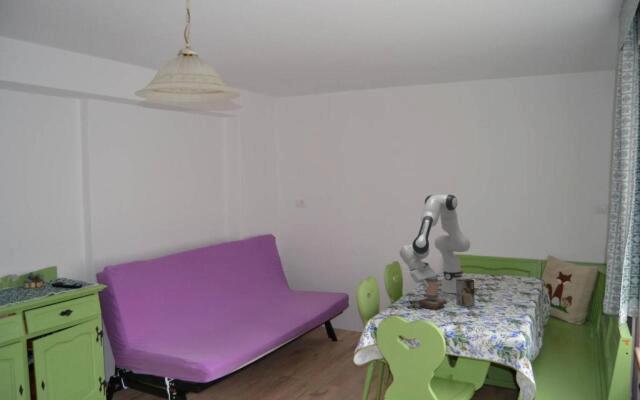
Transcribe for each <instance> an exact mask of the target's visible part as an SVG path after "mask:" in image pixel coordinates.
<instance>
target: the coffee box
mask: <svg viewBox="0 0 640 400" xmlns="http://www.w3.org/2000/svg"><path fill="white" fill-rule="evenodd" d="M455 294H456V295H455V296H456V305H457V306H459V307H461V308H465V307H474V306H476V305H475V303H476V302H475V301H476V300H475V299H476V298H475V280H474V279H472V278H468V277H467V278H464V279H456V293H455Z"/></svg>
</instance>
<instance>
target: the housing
mask: <svg viewBox="0 0 640 400" xmlns="http://www.w3.org/2000/svg"><path fill="white" fill-rule="evenodd" d="M426 282H427V283H429V284H430V286H429V287H427V286H426V285H425V287H426V293H425V294H426V295H425V296H426V298H431V299H439V279H438V277H435V278H434V277H429V278H426ZM426 298H425V299H426Z"/></svg>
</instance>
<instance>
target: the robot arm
mask: <svg viewBox="0 0 640 400" xmlns="http://www.w3.org/2000/svg"><path fill="white" fill-rule="evenodd" d="M457 206H458V199H457V197H456V196H455V195H453V194H443V193H441V194H431V195H428V196H426V198H425V199H424V207H423V209H422V214H421V218H420V219H421V224H420V228H419V231H418V234H417V236H416V237H415V238H414V240H413V241H412V244H405V245H403V246H402V247H401V249H400V250H399V256H400V258H401V259H402V261H403V263H404V264H406V265H407V267H408V269H409V274H410V277H411V279H412V280H413V281H414V283H416V284H419V283H422V284H423V285H424V286H425V287H426V286H427V287H429V286H430V284H429V283H427V282H426V278H429V277H434V278H437V273H436V272H435V270H434V269H433V268H432V267H431V266H430V263H428V262H424V261H422V260H424V259H426V258H427V257H428V256H429V255H430V242H429V237H430V234H431V233H430V232H431V229H432V227H435V226H436V225H437V224H438V222H439V219H440V223H441V228H442V230H443V231H444V232H445V233H447V234H448V235H447V234H445V235H444V234H442V235H438V236H436V238H435V239H434V246H435V249H437V250H438V251H439V252H440V255H441V256H442V259H443V278H441V279H442V280H441V287H440V288H439V289H440V290H441V292H442V293H447V294H456V279H465V277H463V275H464V271H463V270H461V259H460V258H459V257H458V256H456V255H455V253H465V252H468V251H469V250H470V248H471V241H470V239H469V238H468V237H466V236H465V235H464V233H463V232H462V231H461V229H460V227H459V221H458V215H457V210H456V209H457ZM454 252H455V253H454Z"/></svg>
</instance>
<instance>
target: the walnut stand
mask: <svg viewBox="0 0 640 400" xmlns="http://www.w3.org/2000/svg"><path fill="white" fill-rule="evenodd" d="M446 304H447V300H446V299H439V298H435V299H431V298H423V299H420V300H418V305H420V308H422V309H423V308H424V309H428V310H434V311H436V310H439V309H442V308H444V306H445V305H446Z"/></svg>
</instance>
